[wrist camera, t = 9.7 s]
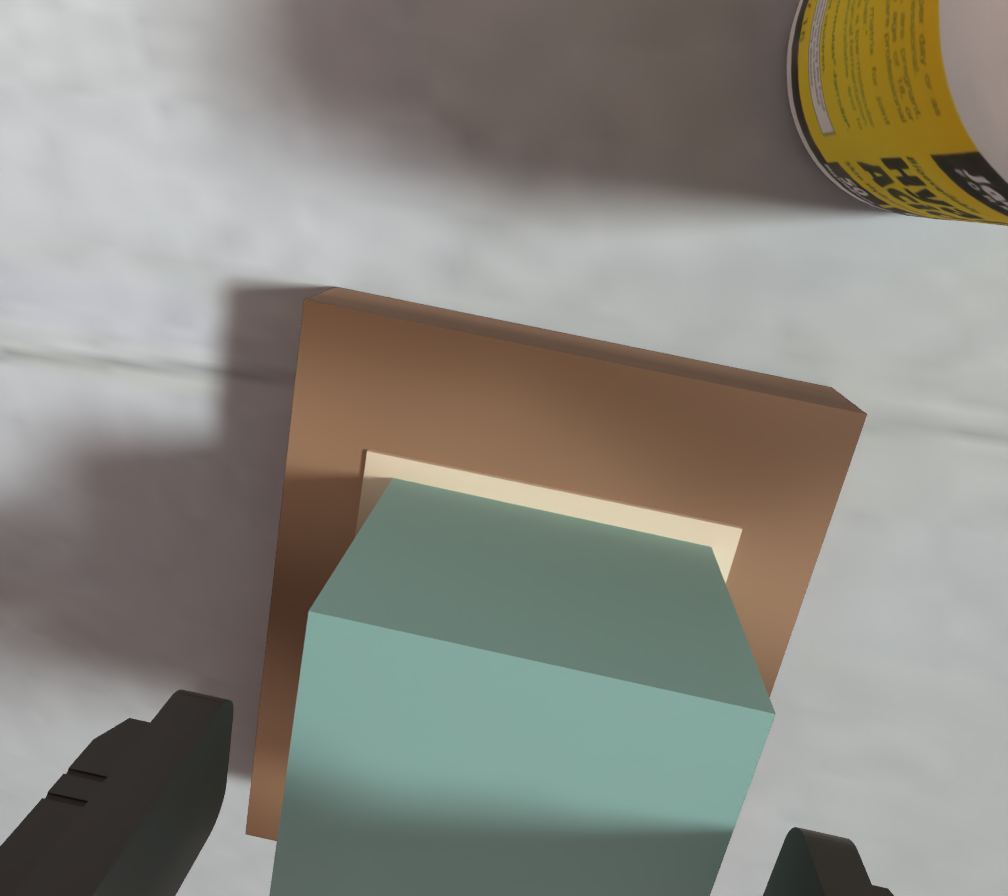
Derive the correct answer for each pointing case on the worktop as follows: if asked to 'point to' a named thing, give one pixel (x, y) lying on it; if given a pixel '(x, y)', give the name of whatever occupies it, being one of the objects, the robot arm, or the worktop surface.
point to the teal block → (517, 710)
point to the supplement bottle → (906, 102)
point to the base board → (541, 463)
